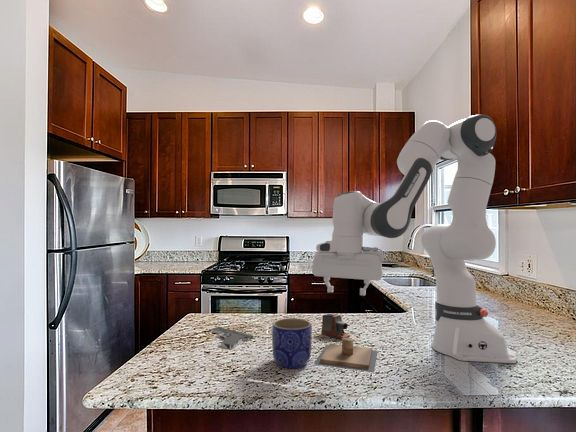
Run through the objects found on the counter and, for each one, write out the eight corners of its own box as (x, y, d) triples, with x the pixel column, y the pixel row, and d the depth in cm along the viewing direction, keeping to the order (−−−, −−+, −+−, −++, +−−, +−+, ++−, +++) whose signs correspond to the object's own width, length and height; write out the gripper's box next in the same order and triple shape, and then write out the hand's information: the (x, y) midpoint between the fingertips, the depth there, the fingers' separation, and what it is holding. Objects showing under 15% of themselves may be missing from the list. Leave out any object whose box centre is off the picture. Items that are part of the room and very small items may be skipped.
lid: (372, 351, 101) (372, 335, 101) (368, 369, 88) (368, 349, 88) (329, 346, 105) (329, 330, 105) (320, 362, 92) (320, 344, 92)
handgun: (192, 339, 114) (218, 330, 124) (231, 351, 103) (257, 340, 113) (192, 334, 114) (218, 326, 124) (231, 345, 103) (257, 335, 113)
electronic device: (342, 342, 111) (342, 318, 111) (320, 335, 117) (320, 313, 118) (350, 339, 114) (350, 316, 114) (328, 332, 121) (328, 311, 121)
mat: (377, 352, 101) (377, 350, 102) (374, 373, 86) (374, 372, 86) (325, 345, 107) (325, 344, 107) (313, 365, 91) (313, 364, 91)
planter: (266, 359, 95) (266, 320, 96) (301, 354, 99) (301, 316, 100) (280, 375, 85) (280, 331, 86) (318, 368, 89) (318, 326, 90)
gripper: (384, 247, 98) (384, 294, 97) (316, 244, 105) (315, 289, 104) (383, 248, 92) (382, 299, 91) (311, 245, 99) (310, 292, 98)
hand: (346, 293), depth 98 cm, fingers open, 8 cm apart
